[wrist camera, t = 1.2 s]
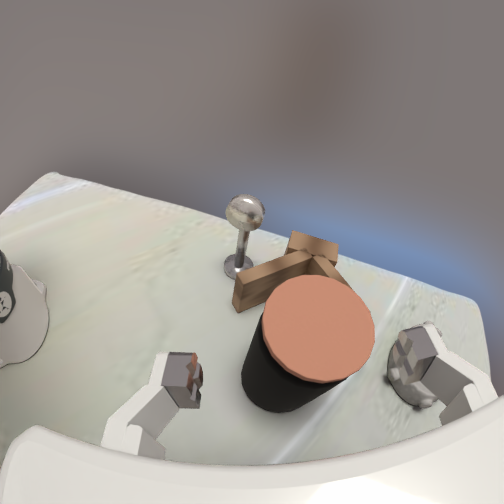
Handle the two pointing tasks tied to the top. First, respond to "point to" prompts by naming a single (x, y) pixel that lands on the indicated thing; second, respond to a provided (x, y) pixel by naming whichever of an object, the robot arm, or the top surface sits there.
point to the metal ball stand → (242, 230)
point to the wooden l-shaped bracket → (286, 270)
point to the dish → (413, 391)
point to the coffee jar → (306, 342)
